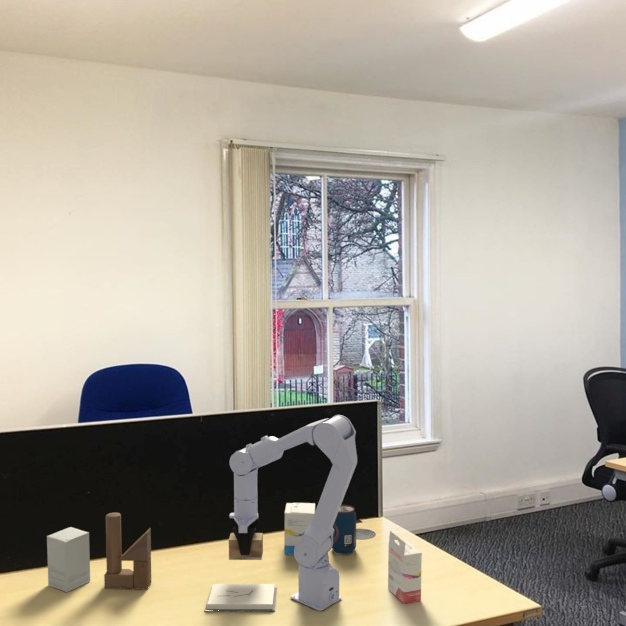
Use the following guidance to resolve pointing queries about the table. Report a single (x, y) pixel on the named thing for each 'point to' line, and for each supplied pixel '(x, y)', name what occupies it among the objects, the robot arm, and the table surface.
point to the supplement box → (68, 559)
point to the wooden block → (126, 558)
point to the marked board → (242, 597)
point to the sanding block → (255, 550)
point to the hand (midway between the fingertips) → (246, 550)
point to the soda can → (344, 531)
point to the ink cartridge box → (404, 570)
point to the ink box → (296, 523)
